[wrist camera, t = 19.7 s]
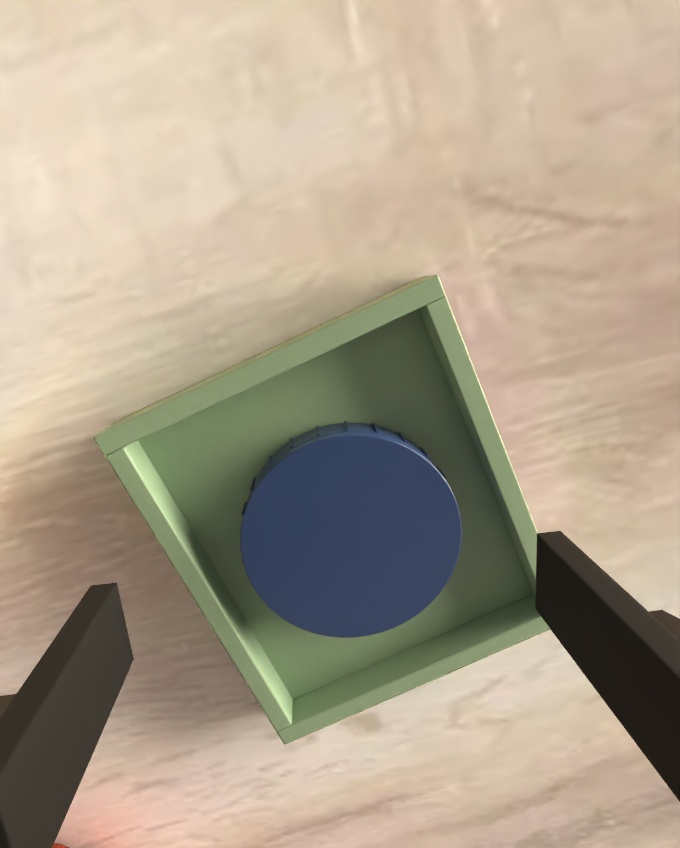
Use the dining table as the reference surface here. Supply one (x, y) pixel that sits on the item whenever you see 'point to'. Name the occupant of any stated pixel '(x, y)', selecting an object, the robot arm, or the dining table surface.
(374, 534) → the lid
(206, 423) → the tray
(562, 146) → the dining table surface
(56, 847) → the fruit
